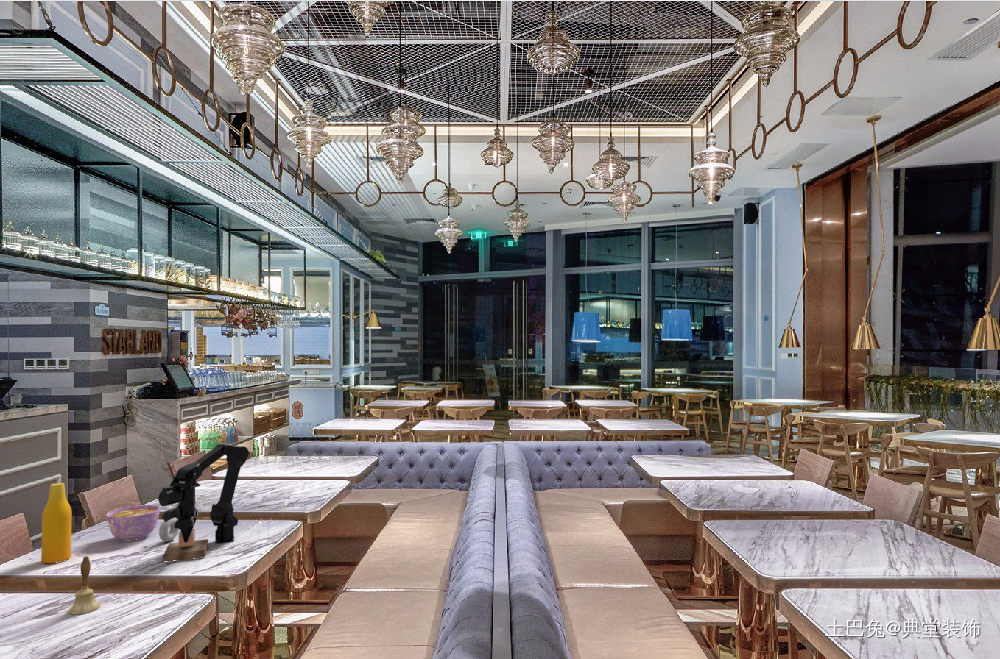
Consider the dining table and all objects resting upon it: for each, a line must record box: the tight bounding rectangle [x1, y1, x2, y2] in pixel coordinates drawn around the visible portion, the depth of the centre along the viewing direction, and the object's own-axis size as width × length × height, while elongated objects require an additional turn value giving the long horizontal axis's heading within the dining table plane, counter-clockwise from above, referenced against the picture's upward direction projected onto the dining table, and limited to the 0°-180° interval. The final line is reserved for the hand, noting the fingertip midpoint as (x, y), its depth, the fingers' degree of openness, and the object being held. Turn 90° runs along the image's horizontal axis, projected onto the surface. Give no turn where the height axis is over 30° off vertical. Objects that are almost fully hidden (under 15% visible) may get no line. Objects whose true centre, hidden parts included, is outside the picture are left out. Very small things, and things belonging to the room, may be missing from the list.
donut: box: [158, 517, 180, 543], centre depth 251 cm, size 10×4×10 cm, turn 171°
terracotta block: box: [178, 528, 196, 547], centre depth 234 cm, size 5×5×5 cm
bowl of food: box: [106, 504, 161, 542], centre depth 256 cm, size 20×20×12 cm
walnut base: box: [162, 538, 209, 563], centre depth 234 cm, size 14×14×3 cm
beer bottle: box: [40, 482, 73, 564], centre depth 229 cm, size 9×9×29 cm
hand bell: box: [67, 555, 101, 616], centre depth 185 cm, size 8×8×16 cm
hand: (186, 540), depth 234 cm, fingers open, 5 cm apart
